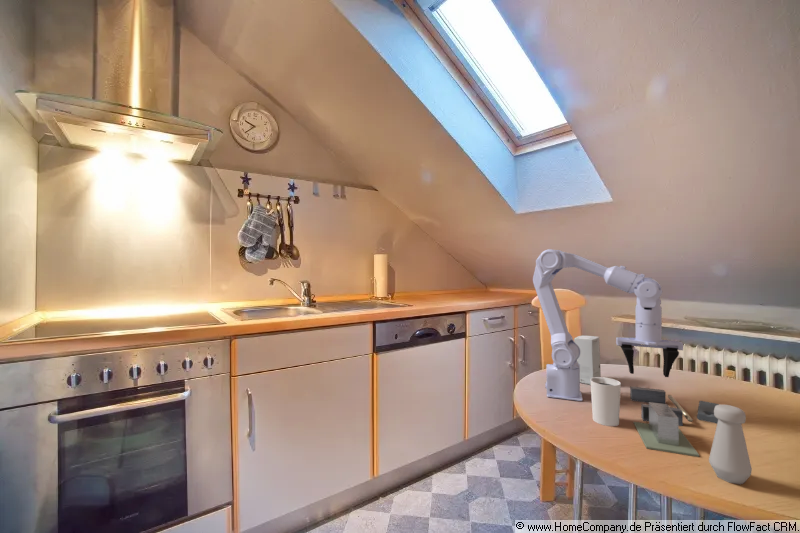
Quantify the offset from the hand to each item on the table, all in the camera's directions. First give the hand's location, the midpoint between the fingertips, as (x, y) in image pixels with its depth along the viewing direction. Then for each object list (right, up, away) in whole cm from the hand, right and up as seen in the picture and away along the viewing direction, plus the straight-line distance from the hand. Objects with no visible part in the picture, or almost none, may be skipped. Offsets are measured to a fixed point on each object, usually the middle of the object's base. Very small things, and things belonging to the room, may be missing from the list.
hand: (648, 374), depth 95 cm
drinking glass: (-15, -10, -6) cm, 19 cm away
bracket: (+14, -10, -3) cm, 18 cm away
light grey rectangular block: (-7, -10, -15) cm, 19 cm away
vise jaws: (+2, -10, 0) cm, 10 cm away
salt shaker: (-6, -10, -29) cm, 32 cm away
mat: (-7, -10, -15) cm, 19 cm away
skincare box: (-3, -10, +25) cm, 27 cm away
